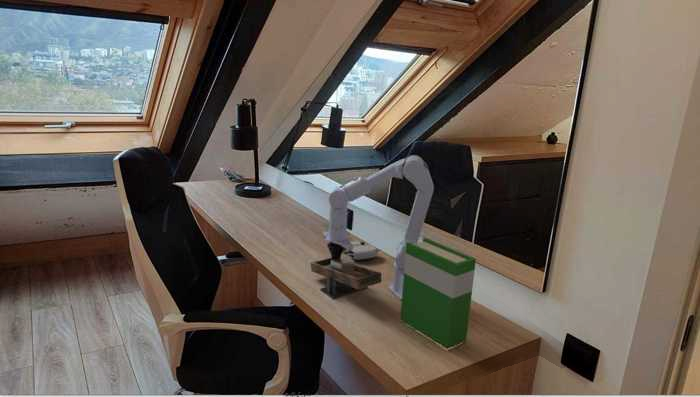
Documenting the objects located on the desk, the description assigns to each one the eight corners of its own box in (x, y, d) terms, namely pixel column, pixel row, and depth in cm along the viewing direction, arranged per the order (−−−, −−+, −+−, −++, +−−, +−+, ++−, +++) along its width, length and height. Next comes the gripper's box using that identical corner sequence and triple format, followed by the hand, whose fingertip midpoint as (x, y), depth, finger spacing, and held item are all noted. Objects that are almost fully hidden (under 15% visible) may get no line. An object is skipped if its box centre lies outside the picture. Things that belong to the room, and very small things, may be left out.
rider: (354, 276, 149) (355, 261, 147) (341, 279, 146) (342, 265, 144) (342, 267, 154) (343, 253, 152) (329, 271, 151) (330, 256, 149)
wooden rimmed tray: (381, 282, 142) (381, 272, 141) (358, 289, 136) (357, 279, 136) (333, 265, 162) (332, 257, 162) (311, 271, 157) (310, 262, 157)
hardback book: (400, 321, 133) (406, 242, 126) (418, 313, 137) (425, 237, 131) (447, 351, 119) (456, 265, 113) (465, 342, 124) (475, 258, 117)
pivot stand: (367, 288, 152) (368, 271, 150) (332, 299, 144) (333, 281, 142) (354, 280, 157) (355, 263, 156) (320, 290, 149) (320, 273, 147)
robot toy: (336, 252, 182) (353, 264, 169) (336, 241, 182) (353, 253, 168) (363, 248, 188) (382, 260, 175) (364, 238, 187) (382, 248, 174)
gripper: (315, 220, 152) (313, 258, 155) (340, 233, 141) (338, 274, 144) (332, 217, 156) (331, 254, 160) (359, 230, 145) (356, 270, 148)
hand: (335, 263), depth 152 cm, fingers closed, pressing on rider
